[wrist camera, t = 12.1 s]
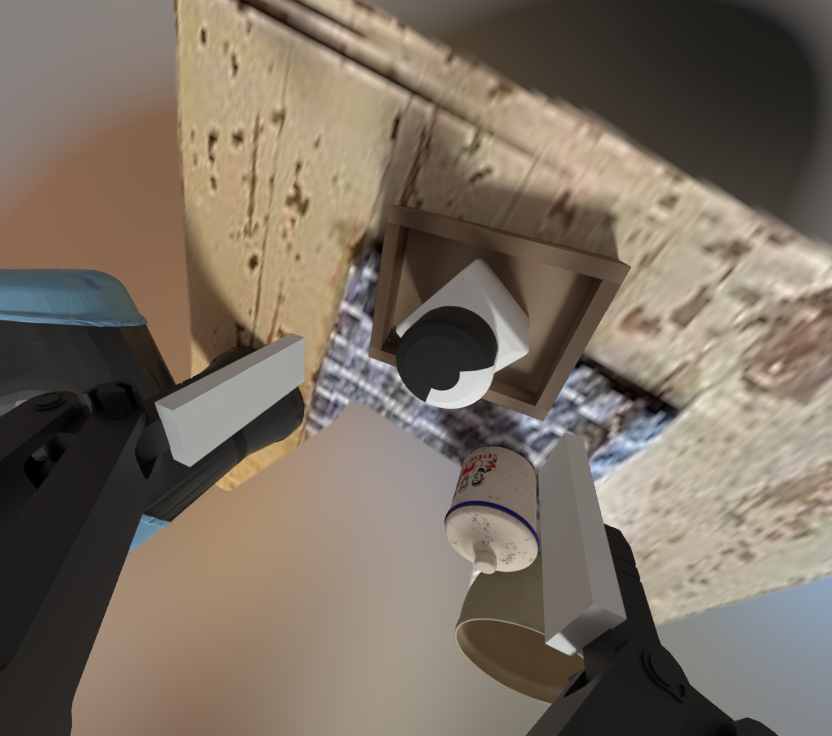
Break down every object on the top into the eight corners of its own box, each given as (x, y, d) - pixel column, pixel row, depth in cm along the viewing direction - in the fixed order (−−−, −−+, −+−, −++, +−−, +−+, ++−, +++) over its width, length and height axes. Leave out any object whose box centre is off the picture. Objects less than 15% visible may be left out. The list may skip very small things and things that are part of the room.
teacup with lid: (490, 429, 34) (472, 517, 24) (556, 476, 33) (565, 584, 24) (436, 479, 40) (405, 564, 30) (491, 518, 40) (477, 616, 30)
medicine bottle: (422, 305, 28) (361, 356, 18) (481, 254, 25) (446, 283, 15) (467, 361, 29) (433, 438, 19) (531, 320, 26) (530, 390, 16)
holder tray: (383, 343, 33) (368, 356, 30) (404, 205, 26) (388, 204, 23) (542, 400, 30) (543, 421, 27) (618, 259, 23) (631, 266, 20)
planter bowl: (547, 518, 37) (551, 619, 28) (615, 602, 39) (640, 719, 30) (449, 539, 45) (428, 621, 36) (510, 606, 48) (504, 699, 39)
